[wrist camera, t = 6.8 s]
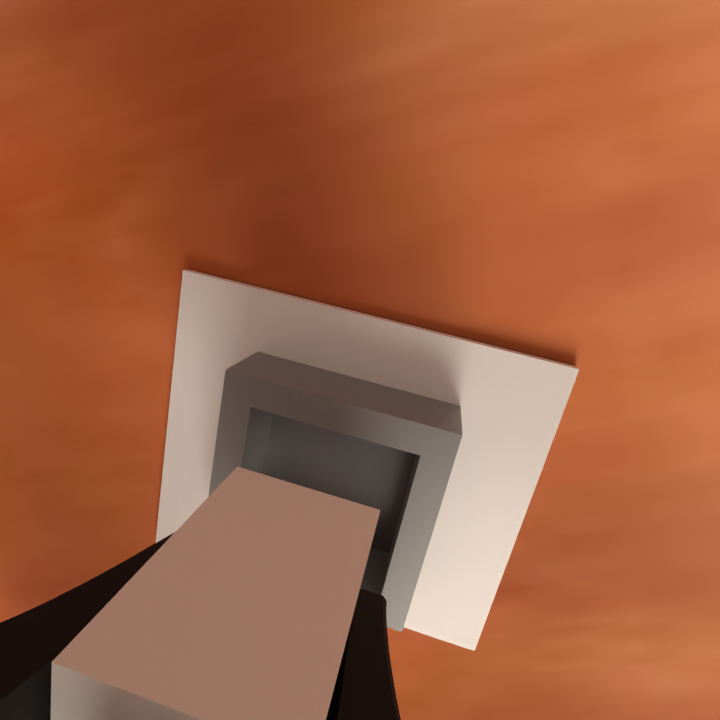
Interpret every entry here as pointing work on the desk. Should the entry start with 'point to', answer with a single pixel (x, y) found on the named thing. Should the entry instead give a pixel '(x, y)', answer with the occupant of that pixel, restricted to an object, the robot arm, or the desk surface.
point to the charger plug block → (227, 613)
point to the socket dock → (366, 436)
